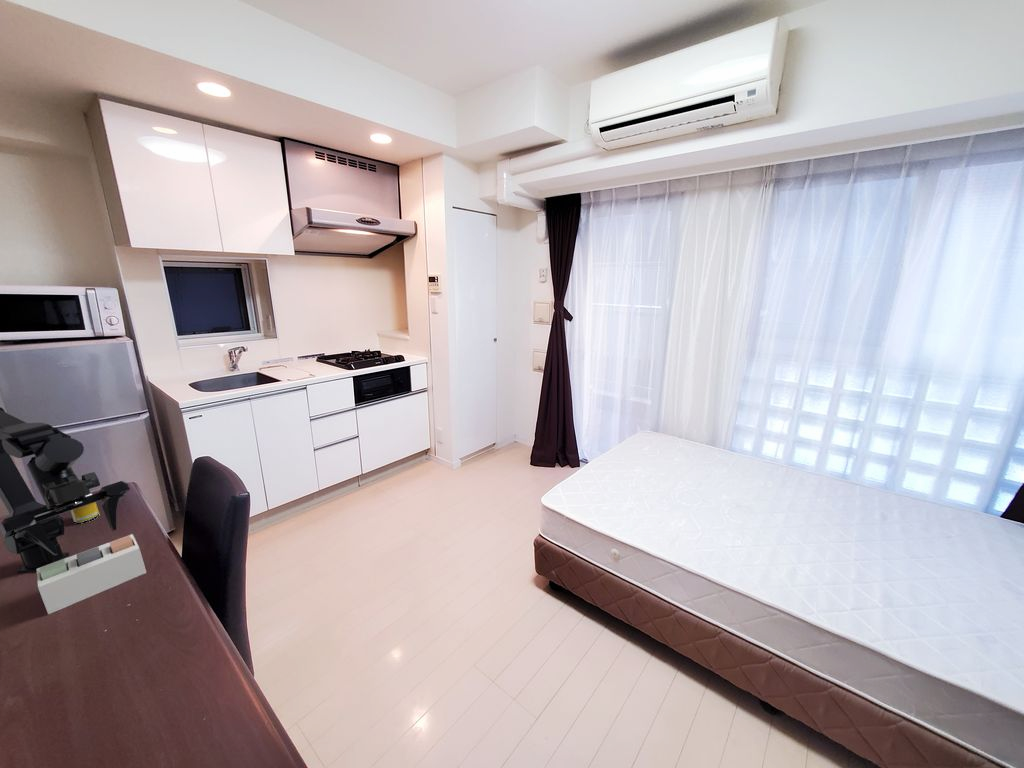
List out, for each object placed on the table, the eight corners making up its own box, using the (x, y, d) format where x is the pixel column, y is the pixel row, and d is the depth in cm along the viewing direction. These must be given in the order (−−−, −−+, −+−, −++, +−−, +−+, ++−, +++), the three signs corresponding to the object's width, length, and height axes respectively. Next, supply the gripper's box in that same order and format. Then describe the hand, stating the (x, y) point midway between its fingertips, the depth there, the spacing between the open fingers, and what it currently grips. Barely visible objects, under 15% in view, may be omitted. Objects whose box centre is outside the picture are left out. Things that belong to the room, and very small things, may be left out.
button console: (46, 594, 90) (36, 568, 89) (139, 557, 102) (132, 534, 101) (48, 614, 85) (38, 587, 83) (146, 572, 97) (139, 548, 95)
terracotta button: (112, 551, 96) (109, 542, 95) (131, 543, 99) (129, 535, 98) (114, 557, 94) (111, 548, 93) (134, 549, 97) (132, 540, 96)
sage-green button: (43, 576, 88) (40, 567, 87) (67, 567, 91) (64, 559, 90) (44, 584, 86) (40, 574, 85) (68, 574, 88) (65, 565, 88)
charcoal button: (79, 563, 92) (76, 554, 91) (100, 555, 95) (98, 546, 94) (80, 570, 90) (77, 561, 89) (103, 561, 92) (100, 552, 92)
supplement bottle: (104, 515, 122) (95, 486, 119) (82, 525, 117) (72, 496, 114) (92, 513, 123) (83, 484, 121) (69, 523, 118) (59, 493, 116)
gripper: (-10, 486, 74) (25, 560, 74) (120, 450, 90) (150, 511, 90) (-14, 502, 80) (19, 571, 79) (109, 466, 96) (137, 523, 95)
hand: (86, 541), depth 86 cm, fingers open, 9 cm apart
